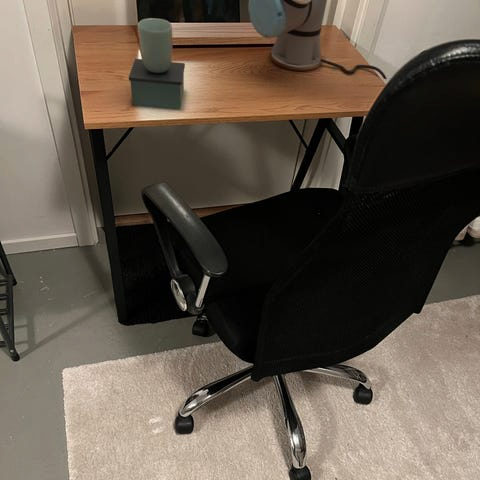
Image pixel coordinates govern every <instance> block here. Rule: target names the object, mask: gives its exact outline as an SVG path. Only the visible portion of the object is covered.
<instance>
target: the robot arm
mask: <svg viewBox="0 0 480 480" xmlns="http://www.w3.org/2000/svg"><path fill="white" fill-rule="evenodd" d="M327 3H328V0H248V13H249V20H250V23H251V25H252V27H253V29H254V30H255V31H256V32H257V34H259V35H260V36H261V37H262V38H266V39H274V38H276V39H275V42H274V44H273V46H272V49H271V52H270V53H271V54H270V60H271V61H272V62H273V63H274V64H275V65H276V66H279V67H281V68H284V69H286V70H290V71H296V72H309V71H313V70H316V69H318V68H319V67H320V66H321V63H323V64H327V65H329V66H331V67H335V68H337V69H340V70H342V71H343V72H344V73H345V74H348V75H349V74H354V73H355V72H356V70H357V69H369V70H373V71H376V72H377V73H379V74H380V75H381V77H382V79H383V80H387V75H386V74H385V73H384V71H382V70H381V69H380V68H379V67H377V66H374V65H370V64H356V65H355V66H354V67H353V69H352V70H350V69H346V68H345V67H344V66H342V65H341V64H338V63H335V62H333V61H330V60H326V59H323V58H322V45H321V31H322V27H323V22H324V17H325V11H326V7H327Z"/></svg>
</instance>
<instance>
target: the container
mask: <svg viewBox="0 0 480 480" xmlns="http://www.w3.org/2000/svg"><path fill="white" fill-rule="evenodd" d="M185 67H186V63H185V62H177V61H172V62H171V66H170V68H169V69H168V70H167V71H166V72H163V73H153V72H150V71H148V70H147V69H146V68H145V66H144V64H143V62H142V58H134V61H133V63H132V67H131V69H130V72H129V76H128V81H129V82H130V91H131V99H132V100H131V102H132V106H133V107H134V106H135V107H145V108H146V107H149V108H158V109H170V110H182V103H183V98H184V92H185V82H184V81H185V79H184V78H185V76H184V75H185V74H184V73H185Z"/></svg>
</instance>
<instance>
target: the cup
mask: <svg viewBox="0 0 480 480" xmlns="http://www.w3.org/2000/svg"><path fill="white" fill-rule="evenodd" d="M137 28H138V29H137V30H138V43H139V52H140V57H141V58H140V59H142V62H143V64H144V66H145V68H146V69H147V70H148V71H150V72H153V73H163V72H166V71H167V70H168V69H169V68H170V66H171V62H173V50H174V49H173V25H172V23H171V22H170V21H168V20H166V19H163V18H155V17H154V18H153V17H149V18H143V19H141V20H140V21H138V24H137Z"/></svg>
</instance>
